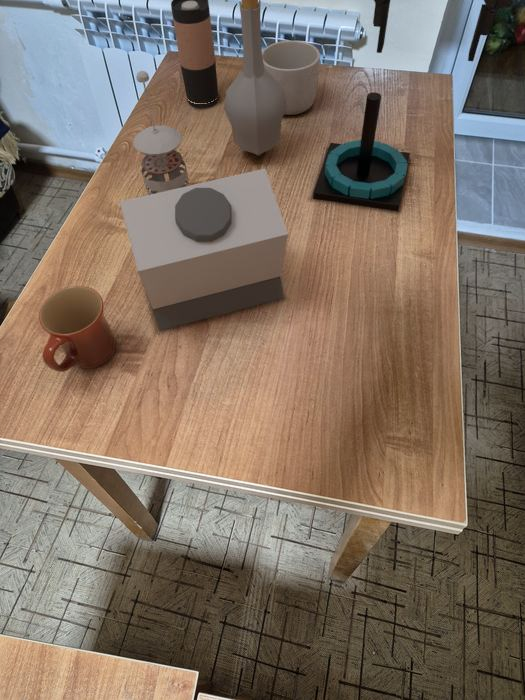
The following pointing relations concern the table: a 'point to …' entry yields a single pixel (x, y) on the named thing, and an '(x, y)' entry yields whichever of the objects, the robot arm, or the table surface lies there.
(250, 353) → the table surface
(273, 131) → the bottle
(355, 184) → the ring
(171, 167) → the french press
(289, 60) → the planter
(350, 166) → the post
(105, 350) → the mug
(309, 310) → the table surface
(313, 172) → the table surface
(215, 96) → the travel mug
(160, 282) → the alarm clock
